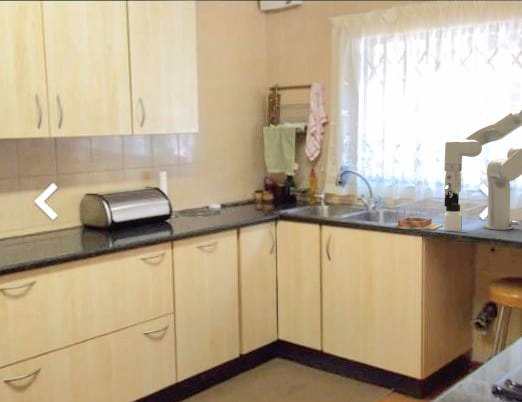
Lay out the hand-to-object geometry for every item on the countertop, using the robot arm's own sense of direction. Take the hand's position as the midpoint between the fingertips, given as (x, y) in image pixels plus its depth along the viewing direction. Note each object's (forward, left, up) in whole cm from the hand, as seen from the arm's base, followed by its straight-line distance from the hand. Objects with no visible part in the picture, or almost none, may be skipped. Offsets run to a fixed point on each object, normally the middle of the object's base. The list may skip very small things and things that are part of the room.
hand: (451, 205), depth 294 cm
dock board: (+15, 0, -11) cm, 19 cm away
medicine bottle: (-1, 0, -11) cm, 11 cm away
